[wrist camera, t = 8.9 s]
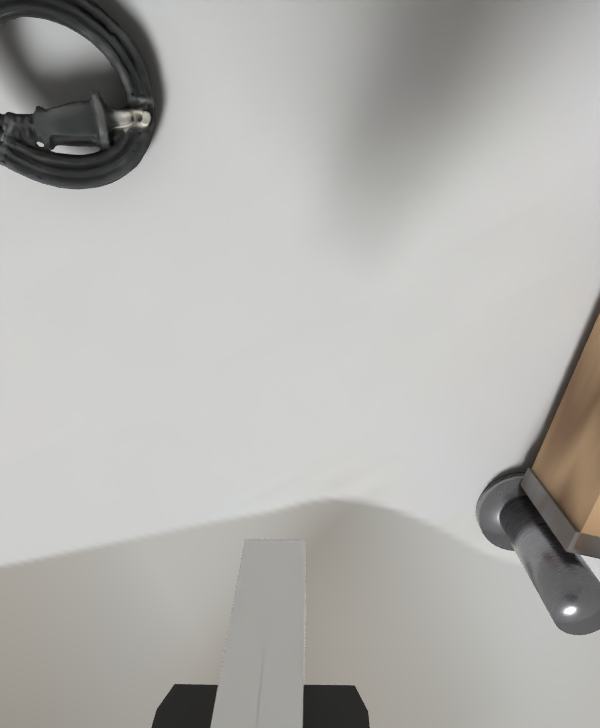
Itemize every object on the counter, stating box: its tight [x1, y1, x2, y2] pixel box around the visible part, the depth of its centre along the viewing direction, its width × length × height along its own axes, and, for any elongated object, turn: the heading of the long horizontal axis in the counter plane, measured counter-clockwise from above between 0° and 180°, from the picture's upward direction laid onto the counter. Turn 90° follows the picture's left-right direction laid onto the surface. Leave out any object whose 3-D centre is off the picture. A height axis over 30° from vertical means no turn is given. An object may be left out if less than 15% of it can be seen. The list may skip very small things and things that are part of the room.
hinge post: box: [476, 472, 600, 635], centre depth 25 cm, size 4×4×7 cm
